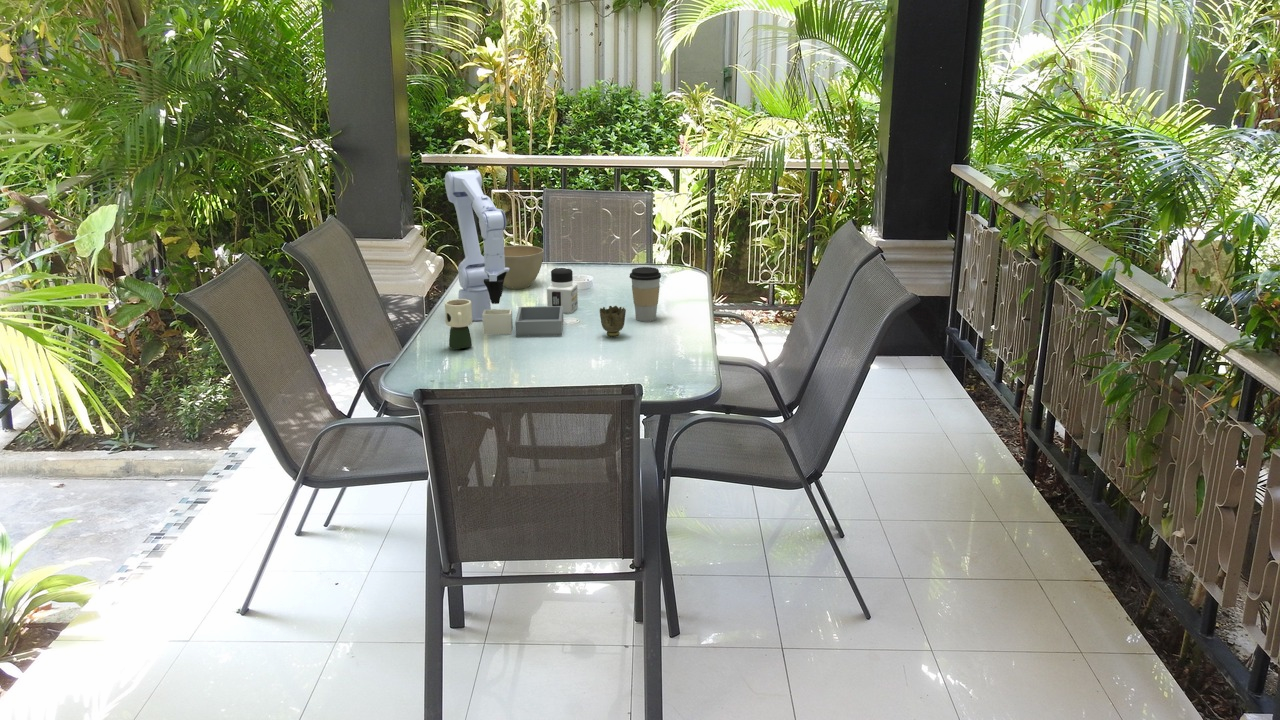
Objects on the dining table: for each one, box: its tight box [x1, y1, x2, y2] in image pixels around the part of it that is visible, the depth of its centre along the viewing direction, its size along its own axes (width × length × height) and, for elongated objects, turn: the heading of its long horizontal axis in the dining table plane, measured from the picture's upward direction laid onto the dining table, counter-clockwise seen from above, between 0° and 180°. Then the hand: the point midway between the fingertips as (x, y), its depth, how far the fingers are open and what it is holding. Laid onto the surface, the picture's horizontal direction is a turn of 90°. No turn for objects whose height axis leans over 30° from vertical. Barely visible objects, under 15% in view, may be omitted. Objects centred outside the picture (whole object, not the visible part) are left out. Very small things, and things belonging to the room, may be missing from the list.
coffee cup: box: [629, 266, 662, 323], centre depth 317 cm, size 9×9×15 cm
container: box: [546, 267, 579, 314], centre depth 328 cm, size 8×8×13 cm
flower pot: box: [503, 245, 544, 290], centre depth 357 cm, size 18×18×12 cm
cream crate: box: [482, 308, 514, 336], centre depth 307 cm, size 8×5×6 cm
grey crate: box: [514, 305, 564, 338], centre depth 310 cm, size 13×16×4 cm
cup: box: [599, 305, 627, 338], centre depth 301 cm, size 8×7×8 cm
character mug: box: [444, 298, 473, 350], centre depth 292 cm, size 11×7×13 cm, turn 13°
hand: (496, 300), depth 305 cm, fingers open, 7 cm apart
